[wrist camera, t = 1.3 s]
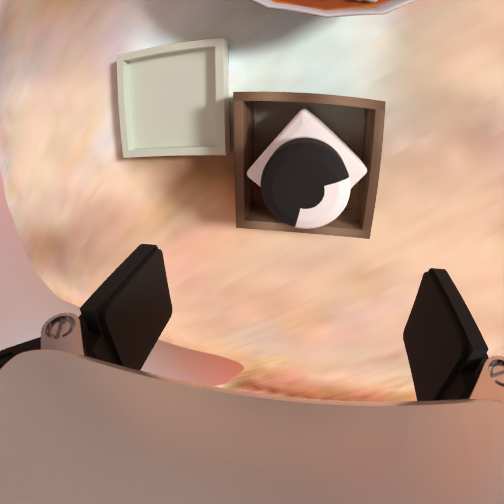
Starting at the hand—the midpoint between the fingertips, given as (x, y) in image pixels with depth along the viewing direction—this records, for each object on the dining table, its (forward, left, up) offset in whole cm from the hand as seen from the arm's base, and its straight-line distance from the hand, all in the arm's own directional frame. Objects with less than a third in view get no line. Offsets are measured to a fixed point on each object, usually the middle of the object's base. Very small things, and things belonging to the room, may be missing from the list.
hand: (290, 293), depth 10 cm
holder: (0, 0, -23) cm, 23 cm away
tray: (+14, -6, -23) cm, 27 cm away
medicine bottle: (0, 0, -23) cm, 23 cm away
